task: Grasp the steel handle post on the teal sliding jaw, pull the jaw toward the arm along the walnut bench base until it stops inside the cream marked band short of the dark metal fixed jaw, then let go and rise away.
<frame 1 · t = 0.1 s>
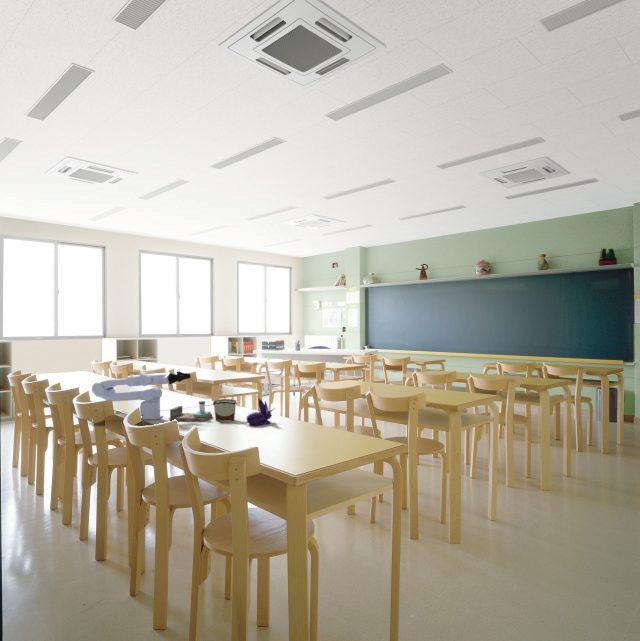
hand: (187, 376, 250), 22 cm above the table, tool horizontal, fingers open, 7 cm apart
creature: (260, 424, 236), on the table
food container: (226, 419, 247), on the table
sliding jaw: (202, 408, 249), point 5 cm above the table, slide at 0.0 cm
bench base: (191, 418, 250), on the table
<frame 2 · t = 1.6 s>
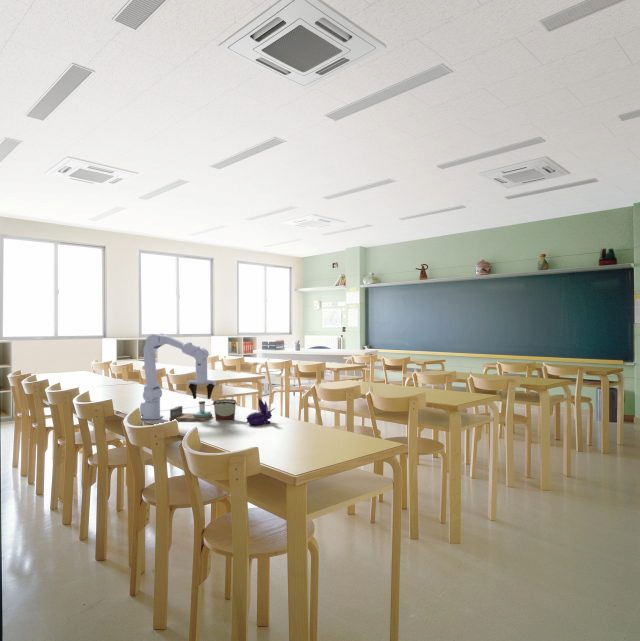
hand: (201, 398, 249), 10 cm above the table, tool pointing down, fingers open, 7 cm apart
nothing on the table moved.
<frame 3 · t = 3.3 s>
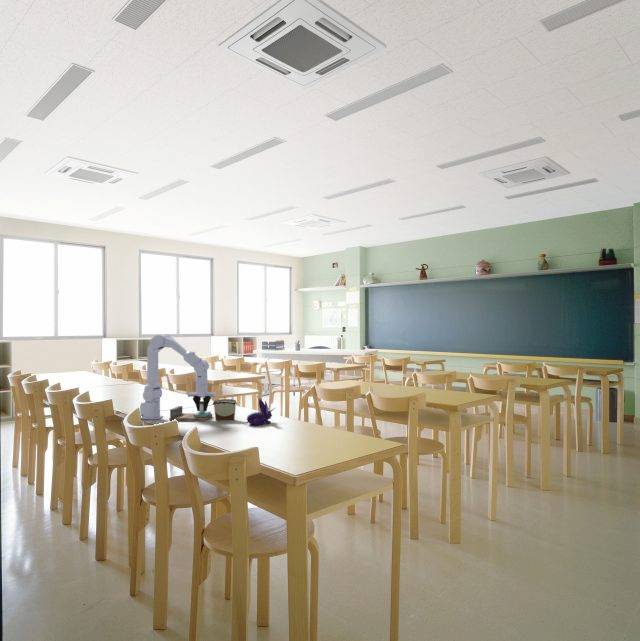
hand: (202, 410, 249), 4 cm above the table, tool pointing down, fingers closed on sliding jaw, 3 cm apart
sliding jaw: (202, 408, 249), point 5 cm above the table, slide at 0.0 cm, touching gripper
everything else where it was.
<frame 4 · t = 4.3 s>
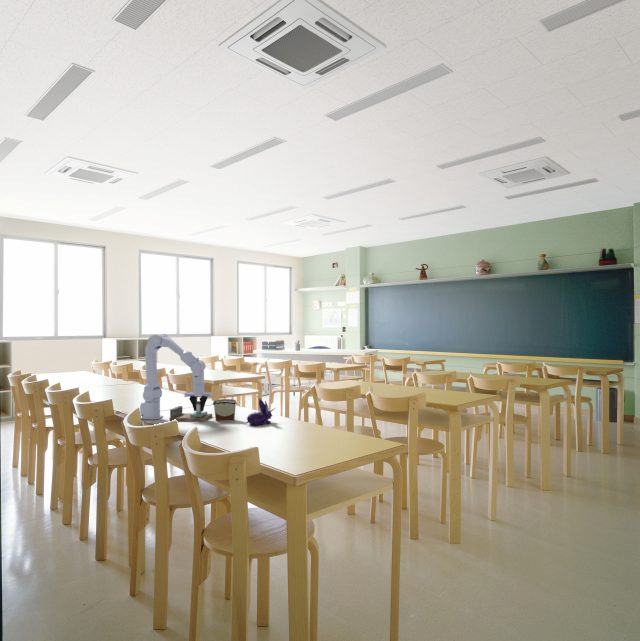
hand: (198, 410, 249), 4 cm above the table, tool pointing down, fingers closed on sliding jaw, 3 cm apart
sliding jaw: (198, 408, 249), point 5 cm above the table, slide at 1.8 cm, touching gripper
everything else where it was.
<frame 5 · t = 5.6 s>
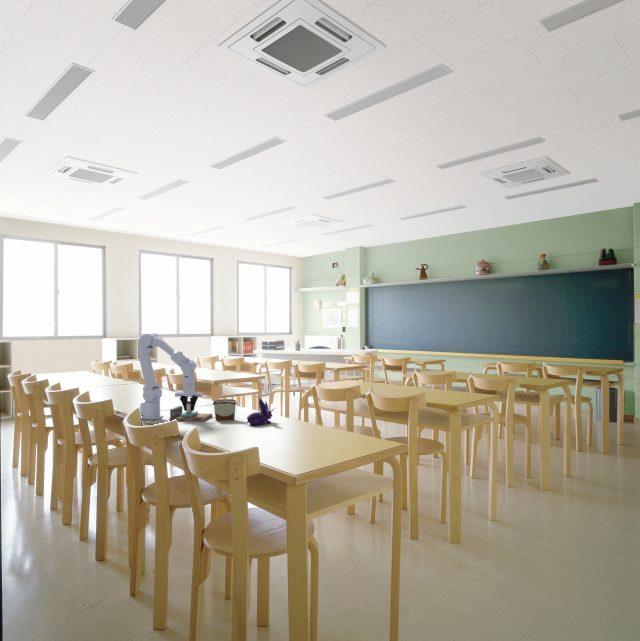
hand: (189, 410, 250), 4 cm above the table, tool pointing down, fingers closed on sliding jaw, 3 cm apart
sliding jaw: (189, 408, 250), point 5 cm above the table, slide at 7.0 cm, touching gripper
everything else where it was.
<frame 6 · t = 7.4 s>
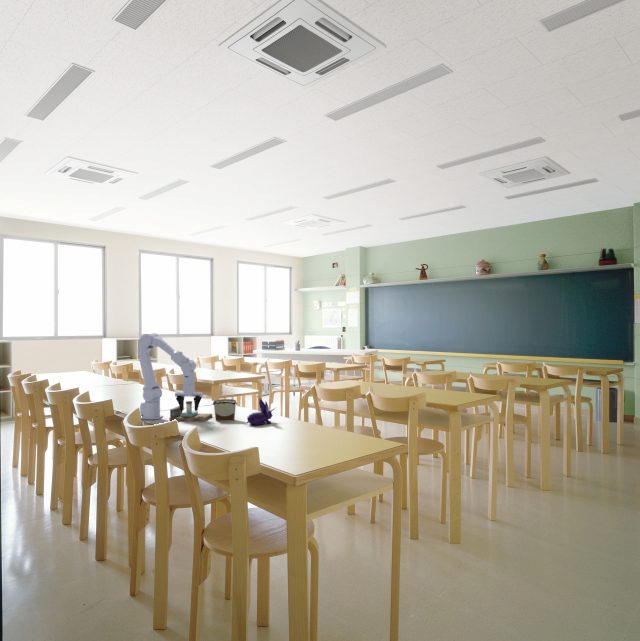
hand: (189, 410, 250), 4 cm above the table, tool pointing down, fingers open, 7 cm apart
sliding jaw: (189, 408, 250), point 5 cm above the table, slide at 7.0 cm
everything else where it was.
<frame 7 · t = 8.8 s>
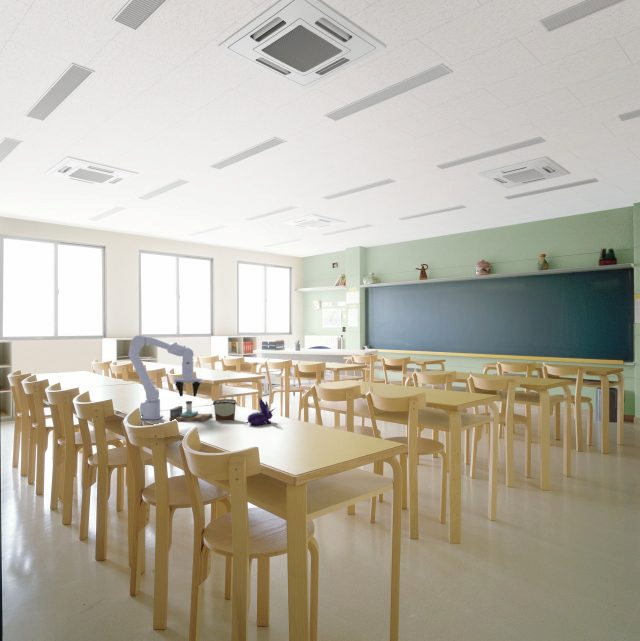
hand: (188, 396, 259), 10 cm above the table, tool pointing down, fingers open, 7 cm apart
nothing on the table moved.
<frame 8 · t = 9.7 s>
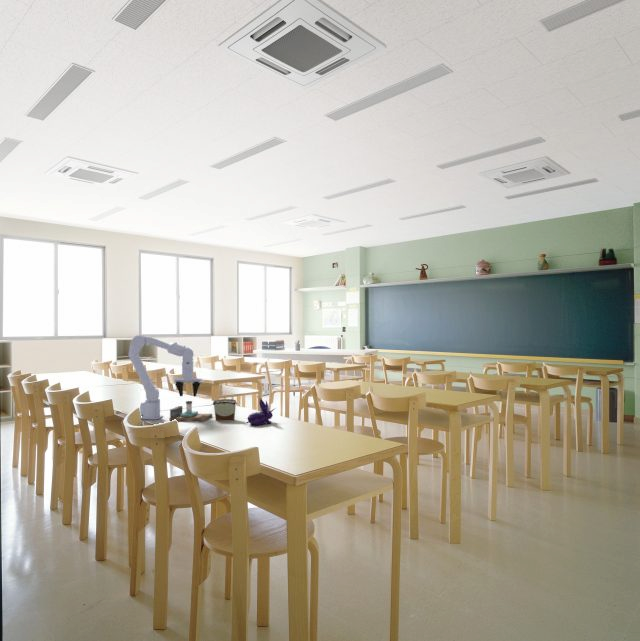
hand: (188, 396, 259), 10 cm above the table, tool pointing down, fingers open, 7 cm apart
nothing on the table moved.
at the end: sliding jaw slide at 7.0 cm; the gripper is holding nothing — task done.
